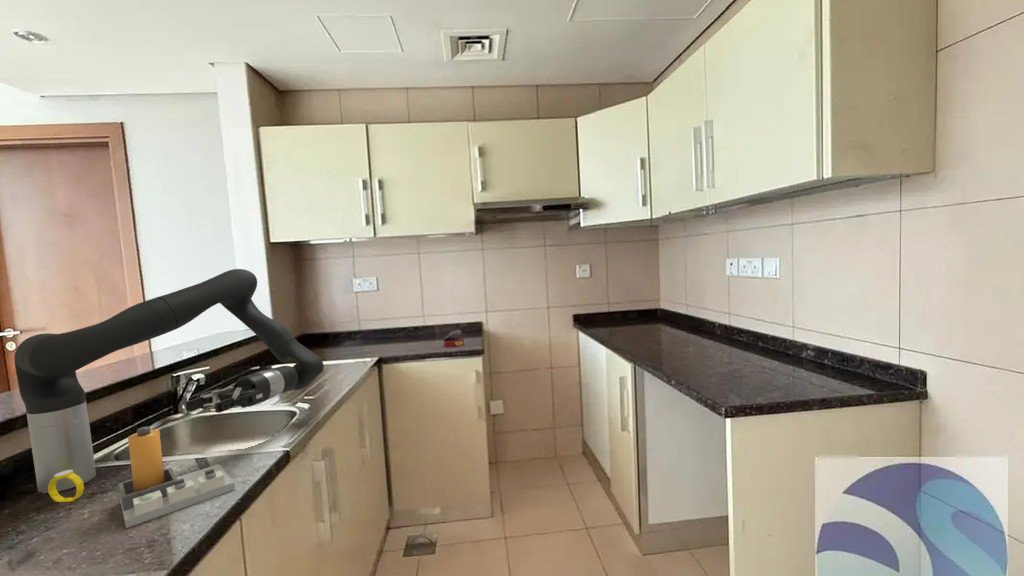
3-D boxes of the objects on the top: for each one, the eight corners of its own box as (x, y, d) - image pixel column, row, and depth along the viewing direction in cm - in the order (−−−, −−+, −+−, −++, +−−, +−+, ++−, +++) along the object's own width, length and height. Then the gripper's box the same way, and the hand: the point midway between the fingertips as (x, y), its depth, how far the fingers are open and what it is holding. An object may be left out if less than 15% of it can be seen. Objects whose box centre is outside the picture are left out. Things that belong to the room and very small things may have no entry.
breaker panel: (120, 502, 90) (117, 480, 90) (219, 470, 102) (217, 450, 102) (126, 528, 81) (122, 503, 81) (234, 489, 93) (232, 468, 92)
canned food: (448, 356, 225) (437, 340, 223) (450, 350, 235) (439, 334, 233) (468, 345, 225) (457, 328, 223) (468, 339, 235) (458, 323, 233)
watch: (47, 506, 91) (40, 478, 91) (60, 499, 94) (54, 471, 93) (77, 502, 91) (71, 474, 91) (89, 495, 94) (83, 467, 93)
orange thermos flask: (132, 494, 90) (125, 429, 89) (163, 484, 93) (156, 421, 92) (136, 502, 87) (128, 435, 86) (167, 492, 90) (160, 427, 89)
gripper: (236, 372, 118) (175, 390, 103) (281, 373, 114) (224, 391, 99) (239, 400, 119) (178, 422, 103) (284, 402, 115) (228, 425, 99)
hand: (201, 407), depth 101 cm, fingers open, 8 cm apart
